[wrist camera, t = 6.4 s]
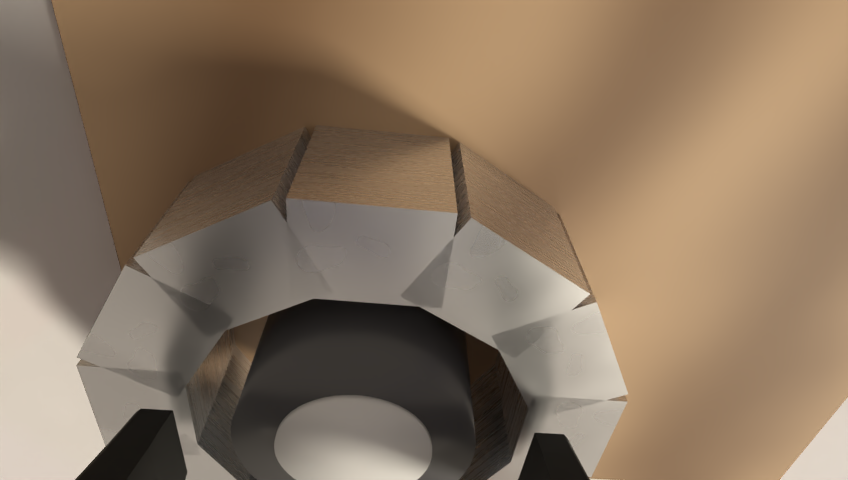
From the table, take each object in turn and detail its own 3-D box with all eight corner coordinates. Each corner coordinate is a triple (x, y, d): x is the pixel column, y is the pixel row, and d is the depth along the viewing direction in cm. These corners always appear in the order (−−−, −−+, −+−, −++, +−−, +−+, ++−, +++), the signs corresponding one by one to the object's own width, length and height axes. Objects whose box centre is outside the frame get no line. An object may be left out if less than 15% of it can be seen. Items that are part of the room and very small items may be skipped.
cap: (479, 258, 13) (496, 377, 10) (450, 397, 15) (457, 524, 12) (265, 240, 12) (215, 358, 9) (276, 386, 15) (239, 512, 12)
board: (1426, -353, 7) (1472, -364, 7) (765, 477, 19) (772, 488, 18) (-90, -629, 6) (-120, -659, 6) (173, 444, 17) (169, 455, 17)
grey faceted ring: (644, 156, 11) (707, 235, 9) (530, 465, 17) (549, 564, 15) (104, 104, 11) (6, 173, 8) (183, 446, 17) (141, 546, 14)
